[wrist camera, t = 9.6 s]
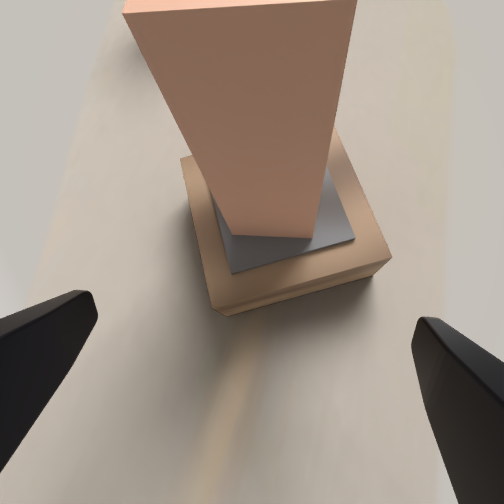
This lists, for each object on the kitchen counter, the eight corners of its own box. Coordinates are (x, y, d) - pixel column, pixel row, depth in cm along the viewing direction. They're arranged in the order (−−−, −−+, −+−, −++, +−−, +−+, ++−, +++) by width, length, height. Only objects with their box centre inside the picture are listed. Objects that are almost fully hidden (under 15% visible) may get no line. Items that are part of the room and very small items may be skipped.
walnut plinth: (373, 275, 20) (394, 255, 16) (226, 316, 20) (210, 307, 16) (322, 152, 23) (329, 110, 19) (197, 189, 24) (178, 155, 20)
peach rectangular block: (312, 238, 17) (357, -2, 5) (232, 234, 17) (122, 13, 6) (315, 167, 18) (355, -144, 7) (240, 166, 19) (163, -120, 7)
